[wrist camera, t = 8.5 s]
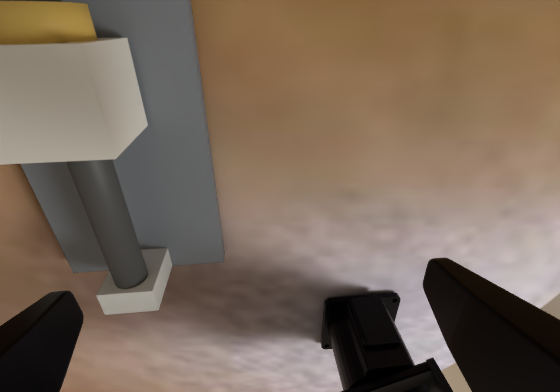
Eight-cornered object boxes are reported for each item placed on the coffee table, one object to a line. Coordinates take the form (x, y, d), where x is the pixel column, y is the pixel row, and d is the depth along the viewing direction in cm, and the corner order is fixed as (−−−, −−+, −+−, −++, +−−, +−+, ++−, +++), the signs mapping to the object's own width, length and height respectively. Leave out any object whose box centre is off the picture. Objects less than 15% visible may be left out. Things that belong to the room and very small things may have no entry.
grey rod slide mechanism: (224, 252, 22) (218, 312, 17) (80, 262, 21) (35, 327, 17) (180, -75, 13) (143, -127, 8) (-77, -78, 12) (-271, -137, 7)
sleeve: (148, 125, 15) (115, 159, 12) (58, 128, 15) (-6, 164, 11) (127, 37, 13) (79, 43, 10) (22, 39, 13) (-69, 46, 9)
